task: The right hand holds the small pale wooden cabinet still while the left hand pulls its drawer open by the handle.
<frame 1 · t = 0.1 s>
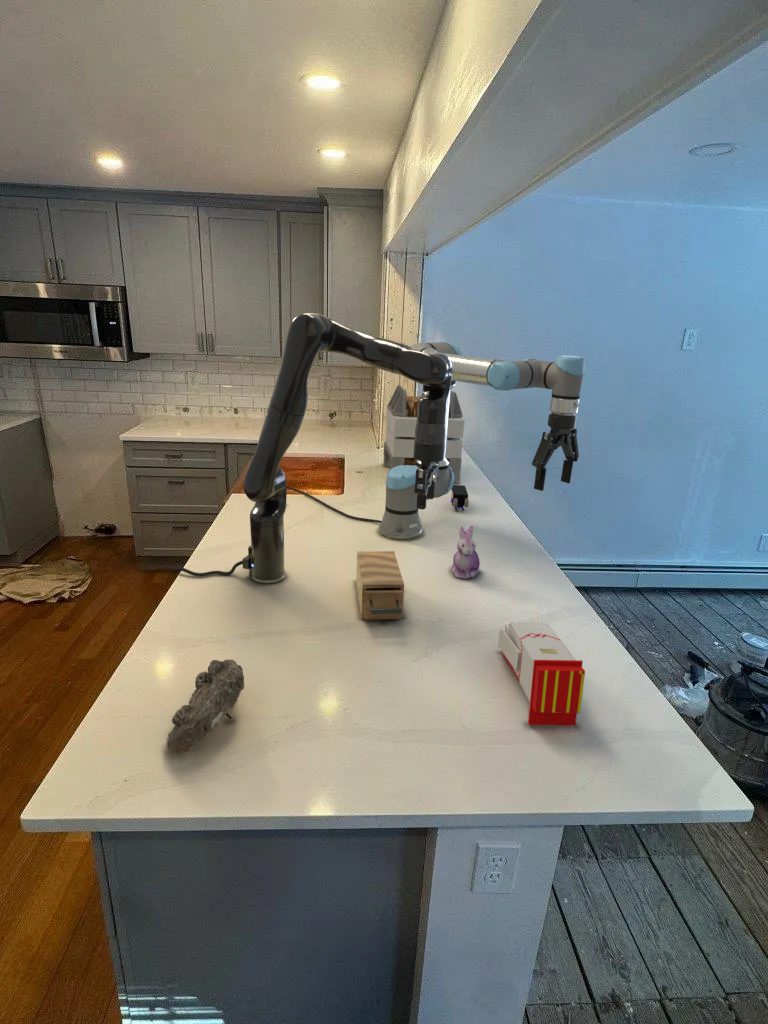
left hand: (425, 503, 142), 29 cm above the counter, tool pointing down, fingers open, 8 cm apart
right hand: (552, 485, 166), 28 cm above the counter, tool pointing down, fingers open, 13 cm apart
figurine: (465, 573, 172), on the counter
toy: (532, 682, 122), on the counter
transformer: (419, 473, 275), on the counter
figurine character: (458, 507, 230), on the counter
drawer: (380, 593, 148), point 5 cm above the counter, slide at 1.1 cm
cabinet: (377, 598, 155), on the counter
fossil: (212, 717, 108), on the counter
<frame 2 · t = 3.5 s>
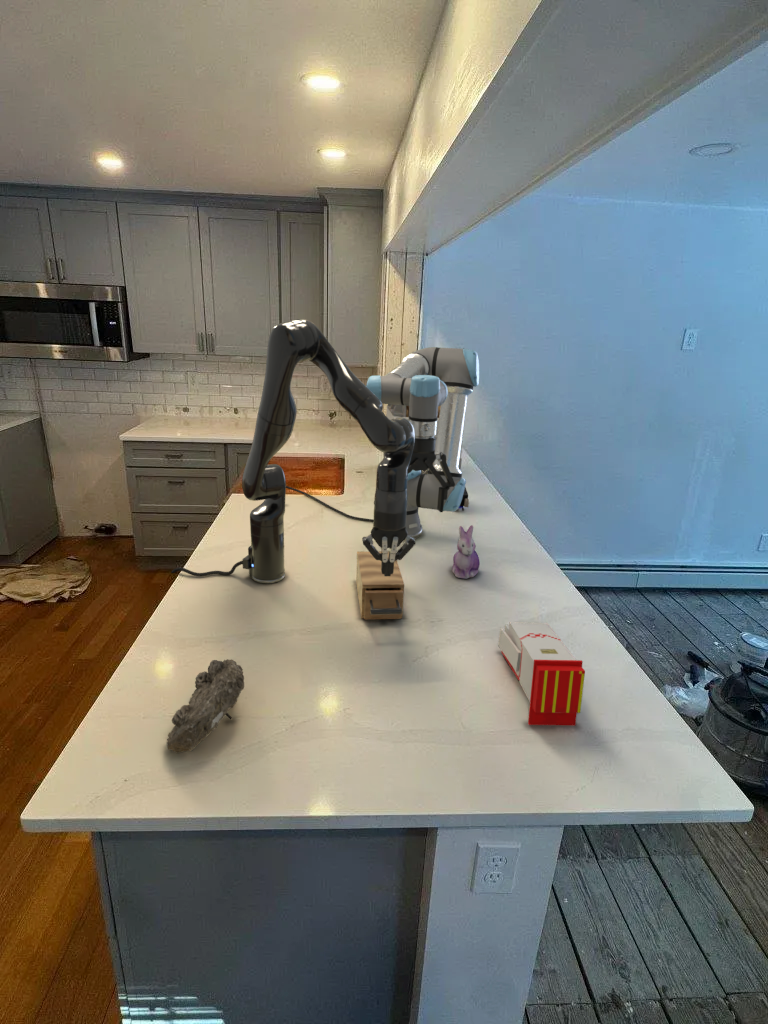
left hand: (387, 574, 135), 15 cm above the counter, tool pointing down, fingers closed
right hand: (416, 511, 156), 22 cm above the counter, tool pointing down, fingers open, 13 cm apart
nothing on the counter moved.
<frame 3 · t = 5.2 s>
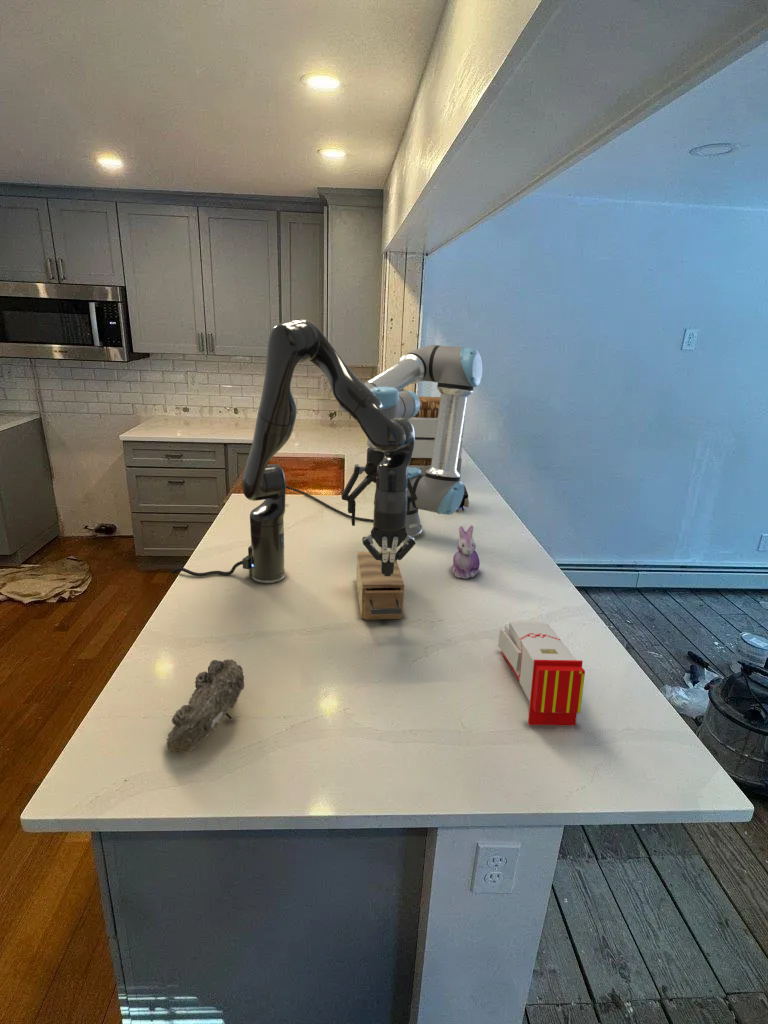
left hand: (387, 574, 135), 15 cm above the counter, tool pointing down, fingers closed
right hand: (378, 524, 154), 19 cm above the counter, tool pointing down, fingers open, 13 cm apart
nothing on the counter moved.
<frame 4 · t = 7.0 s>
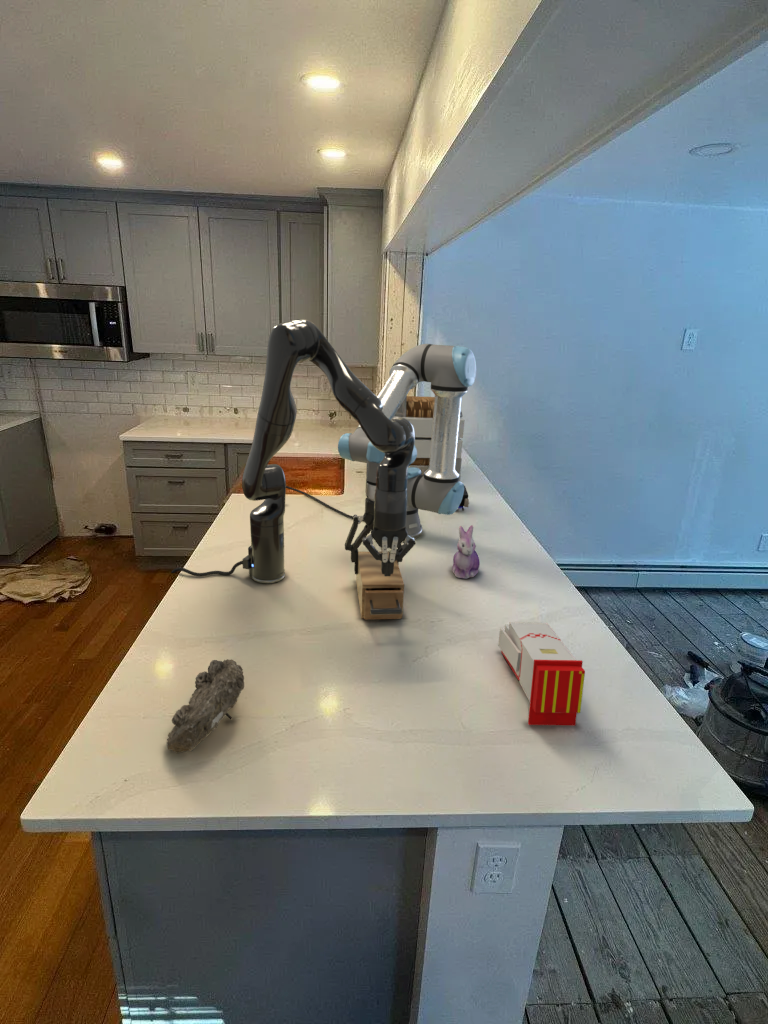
left hand: (387, 574, 135), 15 cm above the counter, tool pointing down, fingers closed
right hand: (376, 572, 160), 5 cm above the counter, tool pointing down, fingers closed on cabinet, 11 cm apart
cabinet: (377, 598, 155), on the counter, touching right hand
everything else where it was.
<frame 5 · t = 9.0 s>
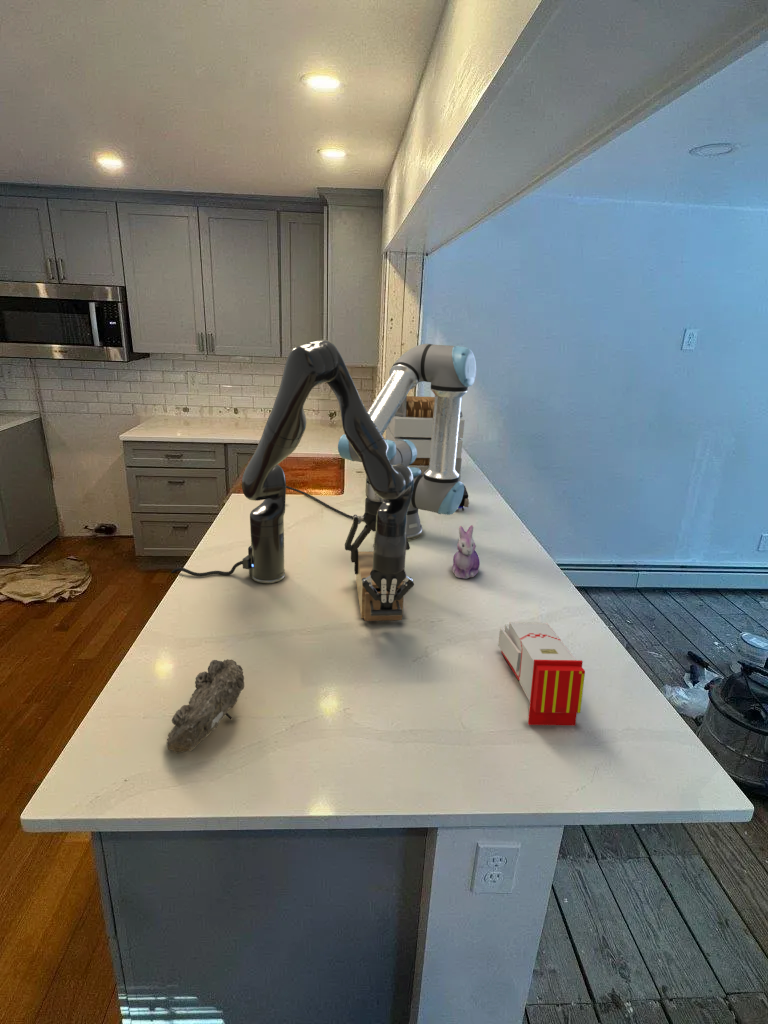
left hand: (385, 613, 138), 5 cm above the counter, tool pointing down, fingers closed
right hand: (376, 572, 160), 5 cm above the counter, tool pointing down, fingers closed on cabinet, 11 cm apart
drawer: (381, 594, 147), point 5 cm above the counter, slide at 1.7 cm, touching left hand
cabinet: (377, 598, 155), on the counter, touching right hand
everything else where it was.
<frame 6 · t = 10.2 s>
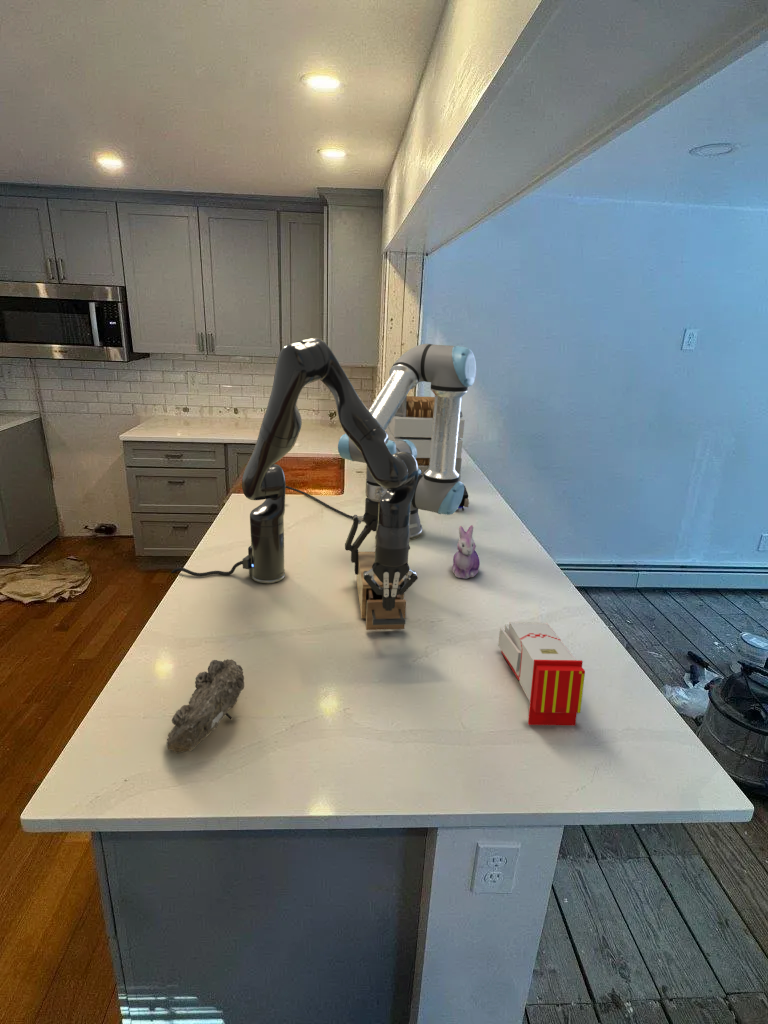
left hand: (388, 609, 132), 9 cm above the counter, tool pointing down, fingers closed
right hand: (376, 572, 159), 5 cm above the counter, tool pointing down, fingers closed on cabinet, 11 cm apart
drawer: (383, 602, 143), point 5 cm above the counter, slide at 5.8 cm
cabinet: (378, 598, 155), on the counter, touching right hand
everything else where it was.
when the right hand's fingers open (5 cm above the counter, at t = 11.5 s): cabinet stays where it is, on the counter.
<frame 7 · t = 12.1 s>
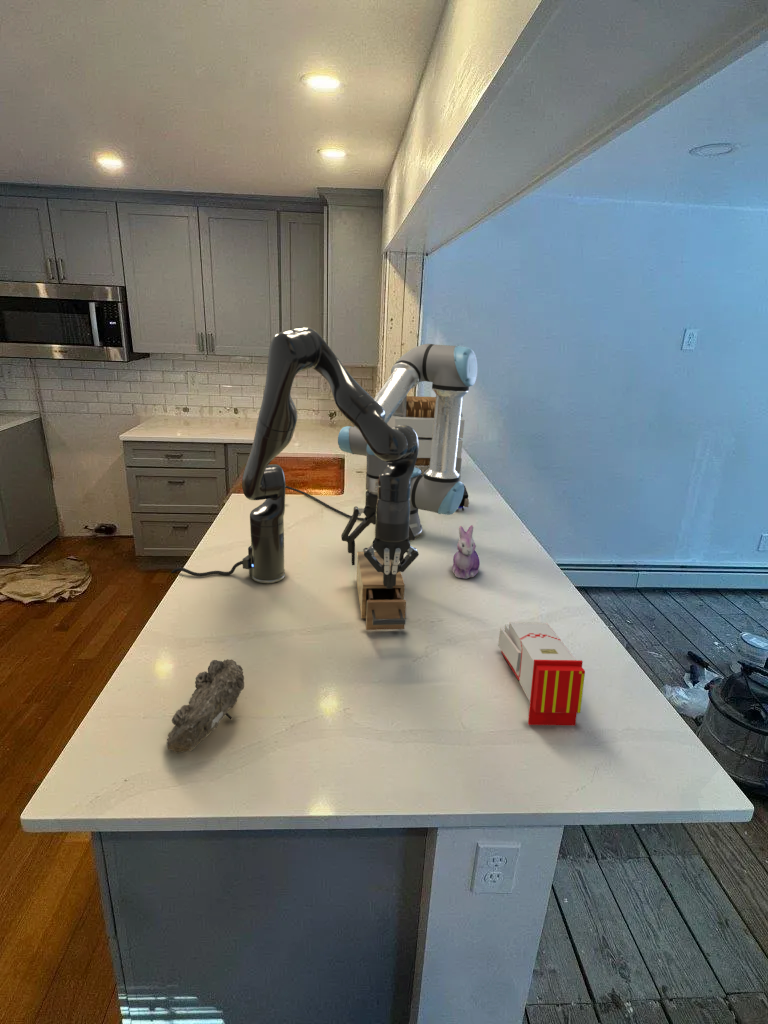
left hand: (389, 587, 131), 14 cm above the counter, tool pointing down, fingers closed
right hand: (377, 562, 159), 7 cm above the counter, tool pointing down, fingers open, 13 cm apart
cabinet: (378, 598, 155), on the counter
everything else where it was.
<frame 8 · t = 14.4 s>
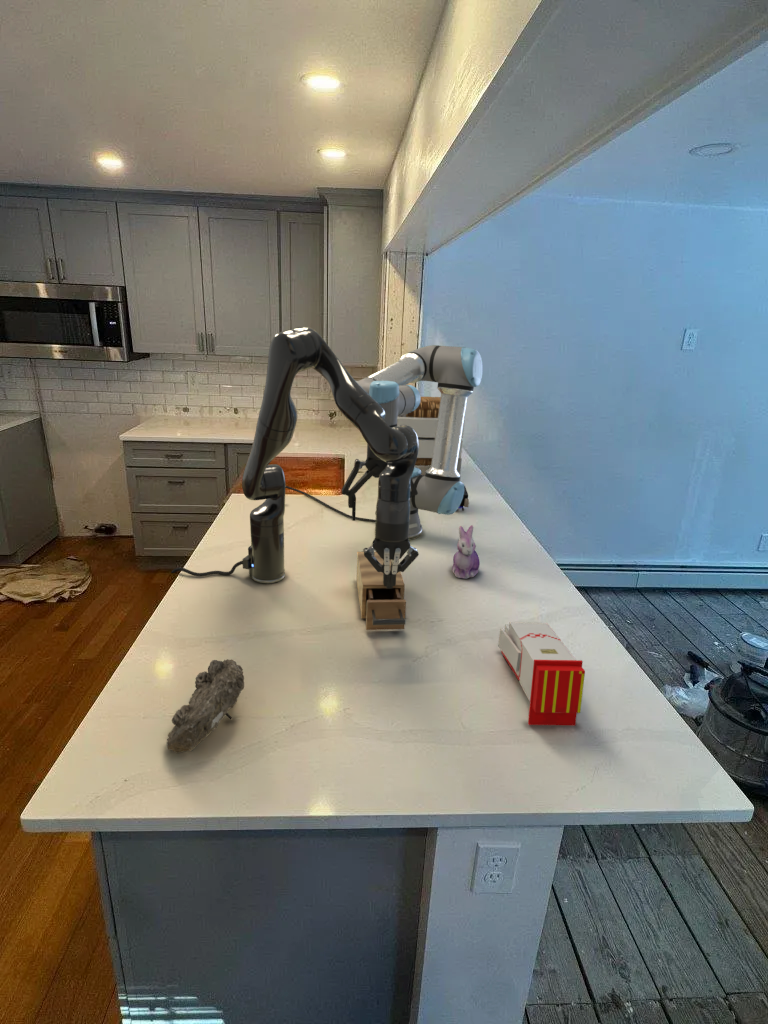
left hand: (389, 587, 131), 14 cm above the counter, tool pointing down, fingers closed
right hand: (378, 519, 154), 21 cm above the counter, tool pointing down, fingers open, 13 cm apart
nothing on the counter moved.
at the end: drawer slide at 5.8 cm; cabinet tilted 0°; cabinet never tilted more than 1° during the clip; cabinet moved 0.1 cm from its start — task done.
